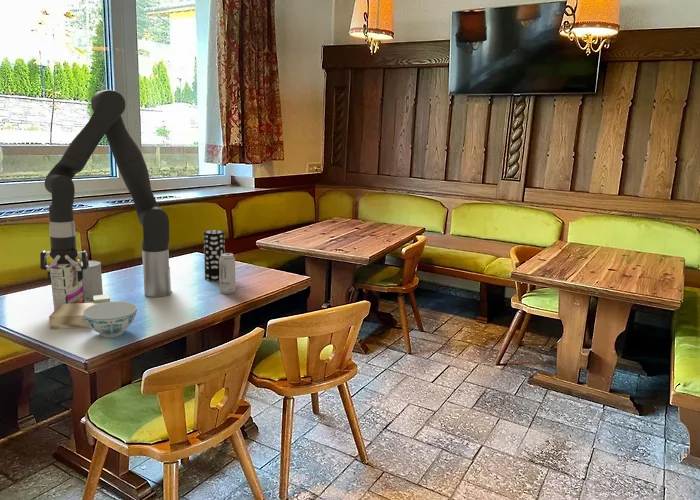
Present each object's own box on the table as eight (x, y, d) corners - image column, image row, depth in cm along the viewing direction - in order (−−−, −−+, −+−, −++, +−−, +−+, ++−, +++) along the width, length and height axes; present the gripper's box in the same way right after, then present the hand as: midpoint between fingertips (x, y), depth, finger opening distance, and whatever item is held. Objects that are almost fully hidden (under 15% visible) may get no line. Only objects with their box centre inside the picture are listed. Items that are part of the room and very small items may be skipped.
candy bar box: (71, 303, 187) (67, 258, 183) (85, 304, 187) (81, 259, 183) (53, 314, 176) (48, 267, 172) (68, 315, 176) (63, 267, 172)
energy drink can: (216, 292, 205) (215, 255, 201) (226, 288, 210) (226, 251, 206) (228, 295, 202) (227, 257, 198) (238, 291, 207) (238, 254, 204)
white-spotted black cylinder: (229, 278, 224) (228, 231, 219) (214, 282, 217) (213, 234, 212) (215, 274, 228) (214, 229, 224) (200, 278, 221) (199, 232, 217)
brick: (109, 307, 184) (108, 294, 183) (111, 312, 180) (110, 298, 179) (94, 309, 182) (93, 295, 181) (94, 314, 178) (93, 300, 177)
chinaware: (76, 342, 155) (73, 317, 153) (97, 323, 170) (95, 300, 168) (128, 343, 156) (126, 318, 154) (144, 324, 171) (143, 301, 169)
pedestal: (100, 313, 178) (99, 302, 177) (92, 326, 167) (91, 315, 166) (61, 315, 175) (60, 303, 175) (50, 328, 164) (48, 316, 163)
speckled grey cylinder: (91, 301, 190) (89, 268, 187) (68, 298, 192) (65, 265, 189) (108, 293, 199) (106, 261, 196) (86, 290, 201) (83, 259, 198)
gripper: (88, 232, 181) (91, 277, 184) (42, 231, 177) (46, 278, 181) (83, 236, 173) (86, 284, 177) (35, 236, 170) (39, 284, 174)
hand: (66, 281), depth 179 cm, fingers open, 8 cm apart
